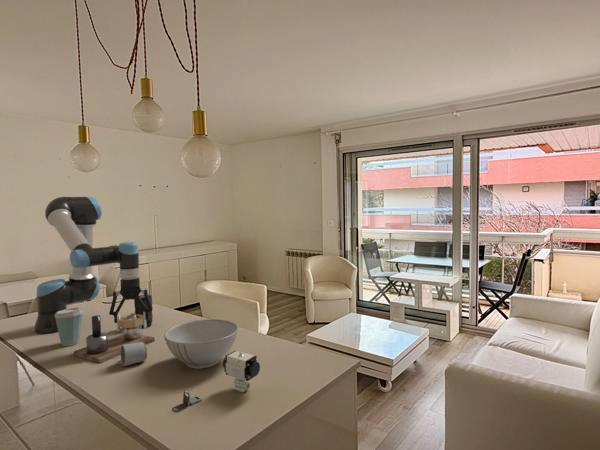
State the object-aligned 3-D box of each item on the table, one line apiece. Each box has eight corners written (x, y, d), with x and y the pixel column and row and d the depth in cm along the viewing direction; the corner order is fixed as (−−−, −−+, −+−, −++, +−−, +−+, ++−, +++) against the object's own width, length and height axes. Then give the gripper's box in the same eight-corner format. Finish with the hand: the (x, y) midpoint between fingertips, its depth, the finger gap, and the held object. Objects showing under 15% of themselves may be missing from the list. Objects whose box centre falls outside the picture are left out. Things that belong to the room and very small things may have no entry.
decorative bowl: (159, 382, 123) (157, 346, 122) (171, 351, 149) (170, 321, 148) (240, 373, 128) (239, 339, 127) (238, 345, 154) (237, 316, 154)
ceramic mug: (148, 363, 138) (147, 342, 138) (125, 369, 133) (124, 348, 133) (140, 354, 146) (139, 335, 146) (118, 360, 141) (117, 340, 141)
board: (73, 355, 147) (73, 351, 147) (128, 335, 169) (128, 331, 169) (100, 363, 139) (100, 359, 139) (154, 340, 161) (154, 337, 161)
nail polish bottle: (82, 352, 145) (81, 317, 145) (100, 346, 152) (99, 312, 151) (94, 356, 142) (92, 320, 141) (112, 349, 148) (110, 315, 148)
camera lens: (156, 323, 185) (155, 294, 184) (147, 328, 177) (146, 298, 176) (140, 323, 186) (139, 294, 185) (132, 328, 178) (130, 298, 177)
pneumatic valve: (232, 381, 122) (231, 346, 121) (261, 390, 116) (260, 353, 115) (221, 389, 117) (219, 352, 117) (249, 398, 111) (248, 359, 110)
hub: (119, 339, 159) (118, 320, 159) (134, 334, 166) (133, 315, 165) (130, 342, 156) (129, 322, 155) (145, 336, 162) (144, 317, 162)
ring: (118, 329, 155) (117, 320, 154) (122, 322, 164) (121, 314, 163) (142, 326, 157) (141, 318, 157) (144, 320, 166) (144, 312, 166)
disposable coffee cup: (52, 349, 153) (50, 314, 152) (58, 341, 163) (57, 307, 162) (82, 345, 157) (80, 311, 156) (86, 337, 167) (84, 304, 166)
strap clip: (197, 398, 113) (196, 384, 112) (202, 401, 110) (202, 387, 110) (171, 409, 106) (170, 395, 106) (176, 413, 104) (175, 399, 104)
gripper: (99, 281, 153) (101, 334, 154) (156, 277, 159) (158, 328, 160) (103, 278, 160) (105, 328, 161) (158, 274, 166) (160, 323, 167)
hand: (132, 328), depth 161 cm, fingers open, 10 cm apart
